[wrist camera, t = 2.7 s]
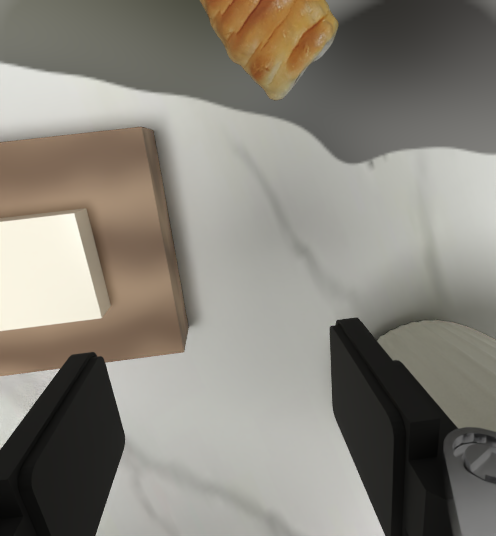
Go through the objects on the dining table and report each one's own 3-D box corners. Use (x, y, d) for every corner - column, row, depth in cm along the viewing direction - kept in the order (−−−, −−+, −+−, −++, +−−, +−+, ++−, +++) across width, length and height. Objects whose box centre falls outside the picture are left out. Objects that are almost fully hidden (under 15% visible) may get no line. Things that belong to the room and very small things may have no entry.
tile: (110, 305, 25) (101, 318, 23) (11, 318, 25) (-6, 331, 23) (86, 208, 23) (74, 213, 21) (-24, 220, 23) (-46, 227, 21)
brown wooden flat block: (188, 327, 31) (184, 352, 27) (-23, 354, 30) (-58, 383, 26) (153, 130, 26) (141, 126, 22) (-102, 158, 25) (-160, 159, 21)
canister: (347, 472, 37) (493, 842, 17) (291, 331, 32) (410, 640, 12) (514, 412, 36) (872, 731, 16) (487, 255, 31) (982, 451, 11)
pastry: (174, 10, 24) (165, -16, 20) (239, -84, 22) (242, -129, 19) (277, 110, 26) (287, 103, 22) (342, 31, 25) (362, 10, 21)
